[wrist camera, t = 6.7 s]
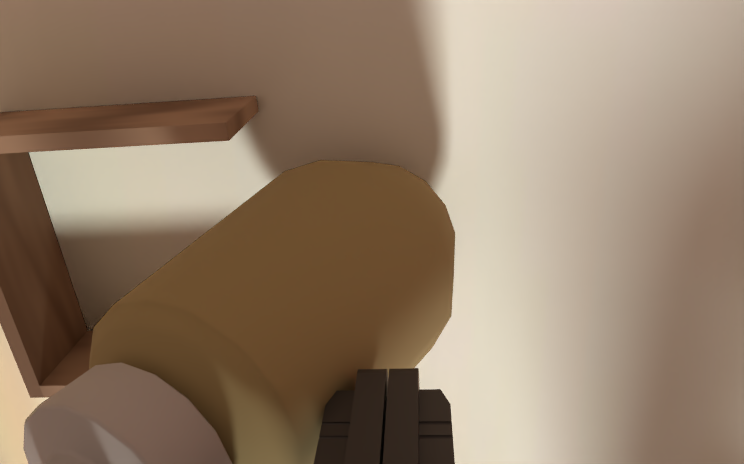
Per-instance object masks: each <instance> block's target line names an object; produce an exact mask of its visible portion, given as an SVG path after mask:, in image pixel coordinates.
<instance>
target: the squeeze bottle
mask: <svg viewBox="0 0 744 464" xmlns="http://www.w3.org/2000/svg"><path fill="white" fill-rule="evenodd" d="M454 249H455V231H454V229H453V226H452V223H451V220H450V217H449V214H448V211H447V209H446V206H445V204H444V203H443V202H442V200H441V199H440V198H439V197H438V196H437V194H436V193H435V192H434V191H433V190H432V188H431V187H430V186H429V185H428V184H427V182H426V181H424V180H423V179H421V178H419V177H417V176H416V175H414V174H412V173H410V172H409V171H407V170H405V169H404V168H402V167H400V166H396V165H389V164H382V163H375V162H359V161H332V160H319V161H316V162H313V163H310V164H306V165H303V166H300V167H297V168H294V169H290V170H287V171H284V172H283V173H282V174H280V175H279V176H278V177H277V178H275V179H274V180H273V181H271V182H270V183H269V184H268V185H266V186H265V187H264V188H262V189H261V190H260V191H259V192H257V193H256V194H255V195H254V196H252V197H251V198H250V199H248V200H247V201H246V202H245V203H243V204H242V205H241V206H239V207H238V208H237V209H236V210H234V211H233V212H232V213H230V214H229V215H228V216H227V217H225V218H224V219H223V220H221V221H220V222H219V223H218V224H216V225H215V226H214V227H212V228H211V229H210V230H209V231H207V232H206V233H205V234H204V235H202V236H201V237H200V238H198V239H197V240H196V241H195V242H193V243H192V244H191V245H189V246H188V247H187V248H186V249H184V250H183V251H182V252H180V253H179V254H178V255H177V256H175V257H174V258H173V259H171V260H170V261H169V262H168V263H166V264H165V265H164V266H163V267H161V268H160V269H159V270H157V271H156V272H155V273H154V274H152V275H151V276H150V277H148V278H147V279H146V280H145V281H143V282H142V283H141V284H139V285H138V286H137V287H136V288H134V289H133V290H132V291H130V292H129V293H128V294H127V295H125V296H124V297H123V298H122V299H120V300H119V301H118V302H116V303H115V304H114V305H113V306H112V307H111V308H110V309H109V310H108V311H107V313H106V314H105V315H104V316H103V317H102V318H101V320H100V321H99V322H98V323H97V324H96V325H95V327H94V328H93V335H92V343H91V351H90V359H89V370H88V371H87V372H85V373H84V374H82V375H81V376H80V377H78V378H77V379H75V380H74V381H72V382H71V383H70V384H68V385H67V386H65V387H64V388H62V389H61V390H60V391H58V392H57V393H55V394H54V395H53V396H51V397H50V398H48V399H47V400H45V401H44V402H43V403H41V404H40V405H39V406H38V407H37V408H36V409H35V410H34V411H33V412H32V413H31V414H30V416H29V417H28V418H27V419H26V421H25V425H24V451H25V454H26V457H27V460H28V463H29V464H314V459H315V454H316V449H317V445H318V440H319V435H320V430H321V425H322V420H323V415H324V410H325V405H326V404H327V403H328V401H329V400H330V399H331V397H332V396H333V395H334V394H335V392H336V391H345V390H355V384H356V377H357V371H358V369H387V370H388V377H389V369H404V368H415V366H416V365H417V364H418V363H419V362H420V361H421V360H422V359H423V357H424V356H425V355H426V354H427V353H428V352H429V351H430V350H431V348H432V347H433V346H434V344H435V342H436V340H437V339H438V337H439V335H440V334H441V332H442V330H443V329H444V327H445V325H446V324H447V322H448V320H449V319H450V317H451V310H452V294H453V277H454Z"/></svg>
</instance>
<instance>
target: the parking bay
mask: <svg viewBox="0 0 744 464" xmlns="http://www.w3.org/2000/svg"><path fill="white" fill-rule="evenodd" d="M257 112H258V105H257V99H256V96H248V97H232V98H217V99H202V100H186V101H171V102H155V103H140V104H124V105H109V106H94V107H78V108H63V109H47V110H32V111H16V112H1V113H0V324H1V326H2V328H3V331H4V333H5V336H6V338H7V341H8V343H9V346H10V348H11V351H12V353H13V356H14V358H15V361H16V363H17V365H18V368H19V370H20V373H21V375H22V378H23V380H24V383H25V385H26V388H27V390H28V393H29V395H30V398H31V397H51V396H53V395H54V394H55V393H57V392H58V391H60V390H61V389H62V388H64V387H65V386H67V385H68V384H70V383H71V382H72V381H74V380H75V379H77V378H78V377H80V376H81V375H82V374H84V373H85V372H87V371H88V370H89V359H90V351H91V343H92V335H93V331H87V328H86V325H85V322H84V319H83V316H82V313H81V310H80V307H79V304H78V301H77V298H76V295H75V292H74V289H73V286H72V283H71V280H70V277H69V274H68V271H67V268H66V265H65V262H64V259H63V256H62V253H61V250H60V247H59V244H58V241H57V238H56V235H55V232H54V229H53V226H52V223H51V220H50V217H49V214H48V211H47V208H46V205H45V202H44V199H43V196H42V193H41V190H40V187H39V184H38V181H37V178H36V175H35V172H34V169H33V166H32V163H31V160H30V157H29V154H28V152H38V151H55V150H73V149H90V148H107V147H125V146H142V145H159V144H177V143H194V142H211V141H229V140H230V139H231V138H232V137H233V136H234V135H235V134H236V133H237V132H238V131H239V130H240V129H241V128H242V127H243V126H244V125H245V124H246V123H247V122H248V121H249V120H250V119H251V118H252V117H253V116H254V115H255V114H256V113H257Z"/></svg>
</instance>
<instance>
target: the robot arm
mask: <svg viewBox="0 0 744 464" xmlns="http://www.w3.org/2000/svg"><path fill="white" fill-rule="evenodd" d="M314 464H455V463H454V449H453V435H452V422H451V408H450V403H449V402H448V400H447V399H446V397H445V396H444V394H443V393H442V391H441V390H440V389H436V390H419V370H418V368H404V369H389V377H388V370H387V369H358V371H357V377H356V384H355V390H345V391H336V392H335V394H334V395H333V396H332V397H331V399H330V400H329V401H328V403H327V404H326V405H325V410H324V415H323V420H322V425H321V430H320V435H319V440H318V445H317V449H316V454H315V459H314Z"/></svg>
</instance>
